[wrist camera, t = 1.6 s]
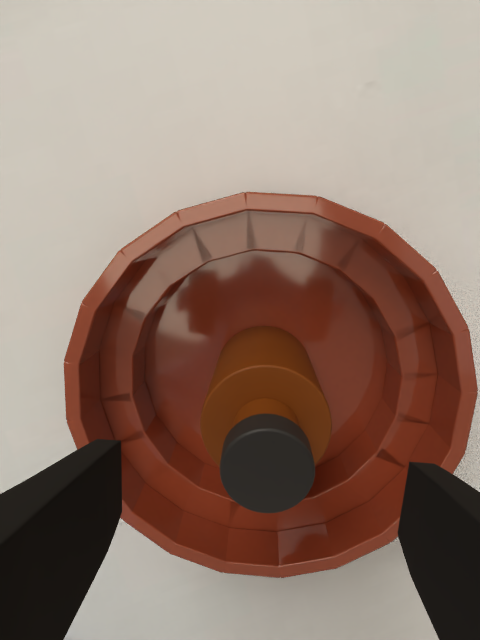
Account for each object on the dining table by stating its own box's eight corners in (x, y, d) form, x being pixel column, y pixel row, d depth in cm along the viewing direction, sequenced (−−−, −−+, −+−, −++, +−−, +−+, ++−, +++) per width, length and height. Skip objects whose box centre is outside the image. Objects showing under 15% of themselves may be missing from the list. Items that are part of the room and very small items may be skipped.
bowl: (398, 515, 20) (437, 592, 16) (110, 491, 21) (71, 560, 16) (450, 213, 17) (517, 207, 13) (106, 193, 17) (55, 180, 13)
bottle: (306, 417, 19) (339, 549, 11) (214, 410, 19) (184, 535, 11) (315, 328, 18) (359, 403, 10) (219, 321, 18) (188, 390, 10)
